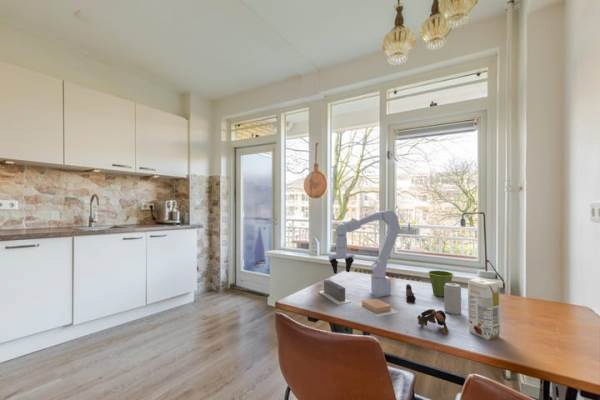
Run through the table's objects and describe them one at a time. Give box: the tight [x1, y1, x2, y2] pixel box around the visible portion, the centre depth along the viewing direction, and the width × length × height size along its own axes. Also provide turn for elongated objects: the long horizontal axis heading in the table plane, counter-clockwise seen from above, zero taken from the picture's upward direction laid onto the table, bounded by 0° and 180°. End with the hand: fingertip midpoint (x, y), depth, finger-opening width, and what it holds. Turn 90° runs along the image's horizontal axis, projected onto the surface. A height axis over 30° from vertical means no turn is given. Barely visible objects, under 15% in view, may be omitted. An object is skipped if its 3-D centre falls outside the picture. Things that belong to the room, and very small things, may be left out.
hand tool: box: [405, 284, 417, 304], centre depth 140 cm, size 19×4×5 cm, turn 160°
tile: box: [361, 298, 392, 313], centre depth 124 cm, size 8×2×10 cm
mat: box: [355, 302, 399, 317], centre depth 125 cm, size 12×16×1 cm
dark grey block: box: [323, 279, 346, 302], centre depth 139 cm, size 3×16×6 cm, turn 23°
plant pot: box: [427, 270, 454, 298], centre depth 144 cm, size 12×12×11 cm
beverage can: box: [443, 282, 462, 315], centre depth 121 cm, size 6×6×12 cm
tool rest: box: [318, 290, 352, 305], centre depth 139 cm, size 7×20×1 cm, turn 23°
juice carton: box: [467, 277, 501, 341], centre depth 100 cm, size 8×9×19 cm
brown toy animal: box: [417, 308, 449, 336], centre depth 105 cm, size 12×10×8 cm
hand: (341, 272), depth 148 cm, fingers open, 7 cm apart
